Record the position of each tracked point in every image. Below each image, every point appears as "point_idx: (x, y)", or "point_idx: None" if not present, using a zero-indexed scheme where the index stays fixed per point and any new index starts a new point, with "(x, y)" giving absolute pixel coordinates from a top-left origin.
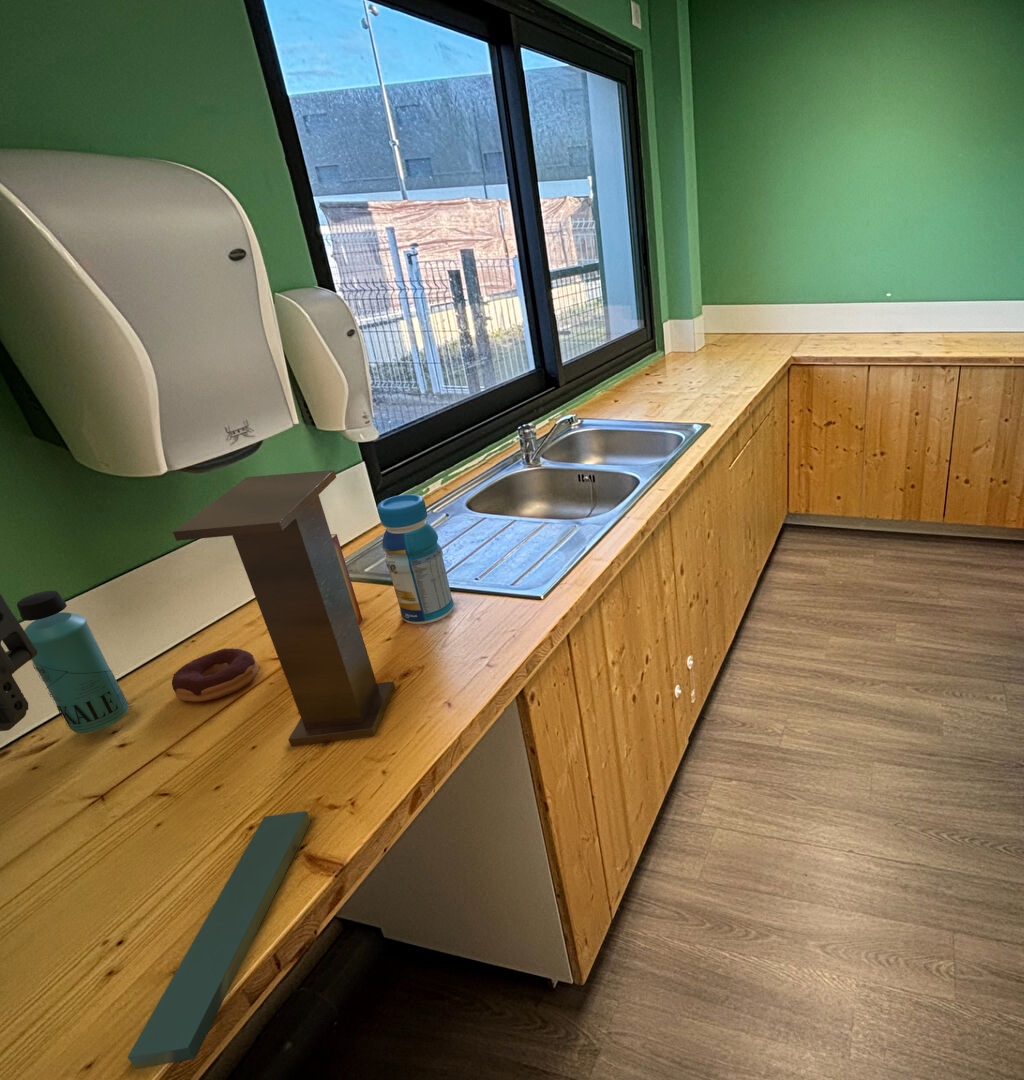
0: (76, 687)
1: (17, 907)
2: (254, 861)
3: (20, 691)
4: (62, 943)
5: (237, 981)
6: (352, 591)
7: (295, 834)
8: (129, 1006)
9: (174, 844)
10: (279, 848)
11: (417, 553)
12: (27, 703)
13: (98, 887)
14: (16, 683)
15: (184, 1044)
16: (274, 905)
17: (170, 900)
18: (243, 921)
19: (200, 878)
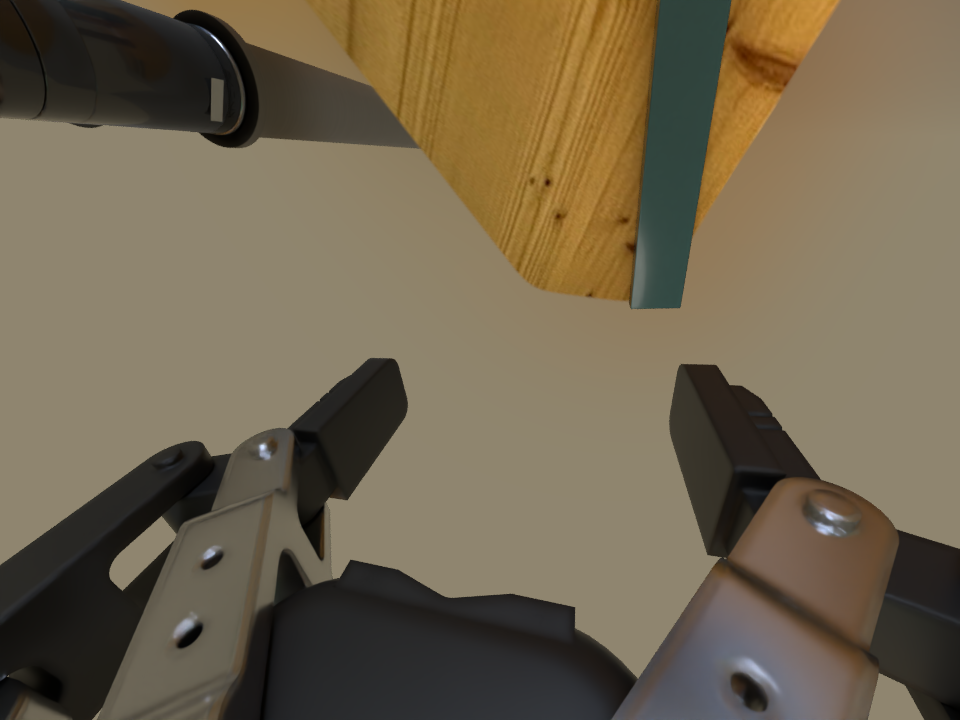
0: None
1: (411, 129)
2: (677, 79)
3: (784, 434)
4: (490, 179)
5: None
6: None
7: (728, 15)
8: (595, 251)
9: (528, 23)
10: (709, 51)
11: None
12: (758, 399)
13: (477, 103)
14: (801, 454)
15: (676, 305)
16: None
17: (572, 127)
18: (692, 182)
19: (593, 91)
